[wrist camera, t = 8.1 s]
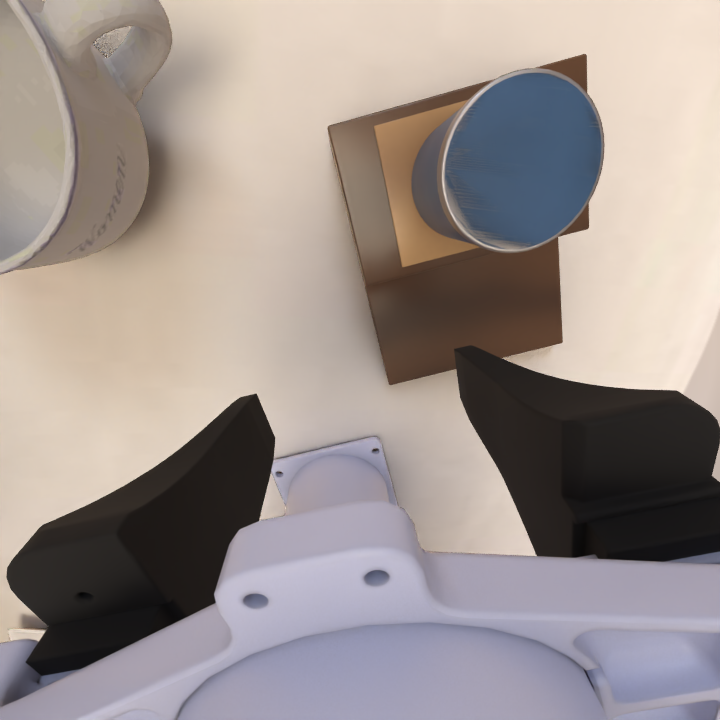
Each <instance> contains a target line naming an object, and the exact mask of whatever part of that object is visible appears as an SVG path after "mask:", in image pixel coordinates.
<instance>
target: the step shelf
mask: <svg viewBox="0 0 720 720" xmlns="http://www.w3.org/2000/svg"><path fill="white" fill-rule="evenodd" d="M536 68H541V69H549V70H552V71H556V72H559V73H561V74H563V75H565V76H567V77H569V78H571V79H572V80H574V81H575V82H576V83H578V84H579V85H580V86H581V87H582V88H583V89H584V90H585V91H586V92H587V56H586V54H583V55H579V56H575V57H572V58H568V59H565V60H561V61H558V62H554V63H551V64H547V65H543V66H540V67H536ZM494 80H495V79H494ZM491 81H493V80H490V81H486V82H483V83H479V84H476V85H472V86H469V87H465V88H461V89H458V90H454V91H451V92H447V93H444V94H440V95H437V96H433V97H429V98H426V99H422V100H419V101H415V102H412V103H408V104H404V105H401V106H397V107H394V108H390V109H387V110H383V111H380V112H376V113H372V114H369V115H365V116H362V117H358V118H355V119H351V120H347V121H344V122H340V123H337V124H333V125H330V126H328V134H329V141H330V146H331V150H332V154H333V158H334V162H335V166H336V170H337V174H338V178H339V182H340V186H341V191H342V195H343V199H344V203H345V207H346V211H347V215H348V219H349V223H350V227H351V232H352V236H353V240H354V244H355V248H356V252H357V256H358V260H359V264H360V268H361V272H362V277H363V281H364V285H365V289H366V293H367V297H368V301H369V305H370V309H371V313H372V318H373V322H374V326H375V330H376V334H377V338H378V342H379V346H380V350H381V354H382V358H383V363H384V367H385V371H386V375H387V379H388V382H389V385H393V384H397V383H401V382H405V381H409V380H413V379H417V378H421V377H425V376H429V375H433V374H437V373H441V372H446V371H450V370H454V369H456V361H455V354H454V349H456V348H460V347H465V346H469V345H473V346H475V347H478V348H480V349H482V350H484V351H486V352H488V353H491V354H493V355H495V356H497V357H499V358H503V357H507V356H511V355H515V354H519V353H523V352H527V351H531V350H535V349H539V348H543V347H547V346H552V345H556V344H560V343H562V342H563V341H562V318H561V295H560V272H559V249H558V237H559V236H563V235H567V234H571V233H574V232H578V231H582V230H586V229H588V228H589V203H588V204H587V206H586V207H585V209H584V210H583V212H582V213H581V214H580V216H579V217H578V218H577V219H576V220H575V222H574V223H573V224H572V225H571V226H570V227H569V228H567V229H566V230H565V231H564V232H563V233H561V234H560V235H559V236H558V237H556V238H555V239H553V240H551V241H550V242H548V243H546V244H544V245H542V246H540V247H538V248H535V249H532V250H529V251H524V252H519V253H500V252H495V251H490V250H487V249H484V248H481V247H478V246H476V245H474V244H471V243H467V242H463V241H460V240H456V239H452V238H449V237H446V236H443V235H441V234H439V233H437V232H435V231H434V230H433V229H432V228H430V227H429V226H428V225H427V224H426V223H425V222H424V220H423V219H422V217H421V216H420V214H419V212H418V211H417V208H416V206H415V203H414V199H413V195H412V171H413V167H414V162H415V160H416V157H417V154H418V152H419V150H420V148H421V146H422V145H423V143H424V142H425V140H426V139H427V138H428V137H429V135H430V134H431V133H432V132H433V131H434V130H435V129H436V128H437V127H439V126H440V125H441V124H442V123H443V122H445V121H446V120H447V119H448V118H449V117H451V116H452V115H453V114H454V113H455V112H457V111H458V110H459V109H460V108H461V107H463V106H464V104H465V103H466V102H467V101H468V100H469V99H470V98H471V97H472V96H474V95H475V94H476V93H477V92H478V91H479V90H480V89H482V88H483V87H484V86H486V85H487V84H489V83H490V82H491Z"/></svg>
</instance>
